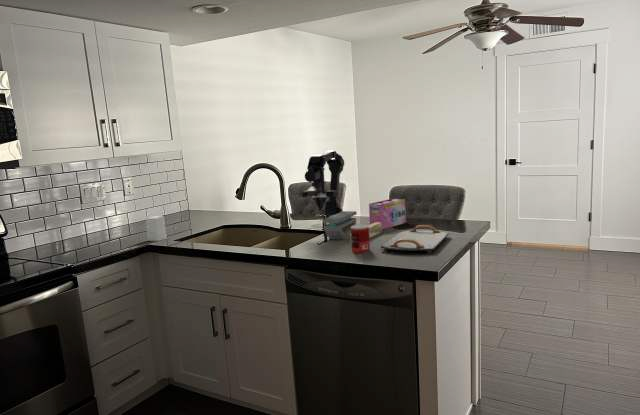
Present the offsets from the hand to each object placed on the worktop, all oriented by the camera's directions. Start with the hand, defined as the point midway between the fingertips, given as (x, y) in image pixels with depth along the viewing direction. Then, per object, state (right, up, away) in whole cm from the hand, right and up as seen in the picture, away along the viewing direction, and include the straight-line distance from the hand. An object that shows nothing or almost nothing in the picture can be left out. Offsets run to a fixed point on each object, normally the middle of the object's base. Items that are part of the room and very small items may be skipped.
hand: (320, 210), depth 244 cm
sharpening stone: (+10, -13, -4) cm, 17 cm away
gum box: (+37, -9, +17) cm, 42 cm away
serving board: (+42, -15, -31) cm, 55 cm away
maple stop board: (+22, -13, -11) cm, 28 cm away
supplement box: (-91, -16, +22) cm, 95 cm away
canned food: (+17, -18, -37) cm, 45 cm away
